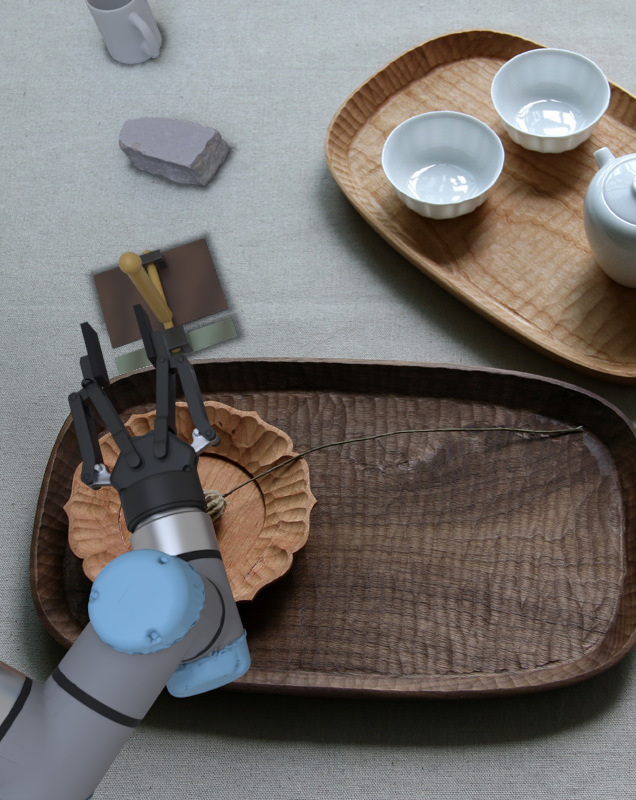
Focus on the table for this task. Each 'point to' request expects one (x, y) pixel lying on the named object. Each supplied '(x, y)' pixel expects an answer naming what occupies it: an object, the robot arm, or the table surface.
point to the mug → (127, 29)
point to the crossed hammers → (147, 286)
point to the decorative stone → (174, 148)
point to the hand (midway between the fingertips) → (114, 320)
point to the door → (186, 298)
